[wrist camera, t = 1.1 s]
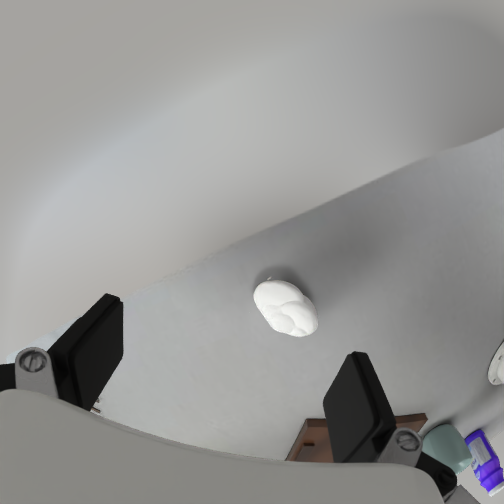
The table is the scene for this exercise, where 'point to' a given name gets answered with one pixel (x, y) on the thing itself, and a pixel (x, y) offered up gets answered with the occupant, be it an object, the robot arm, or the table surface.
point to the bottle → (485, 462)
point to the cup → (448, 447)
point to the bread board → (318, 443)
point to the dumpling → (286, 308)
